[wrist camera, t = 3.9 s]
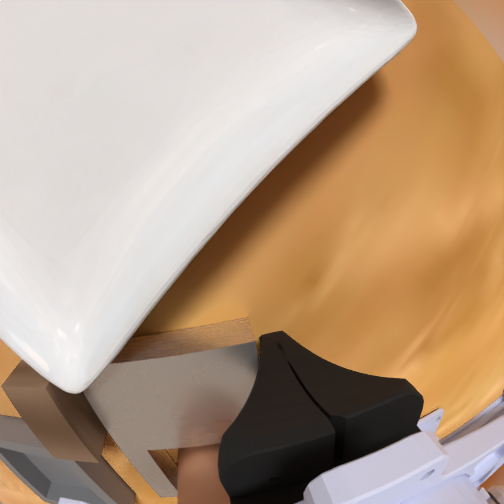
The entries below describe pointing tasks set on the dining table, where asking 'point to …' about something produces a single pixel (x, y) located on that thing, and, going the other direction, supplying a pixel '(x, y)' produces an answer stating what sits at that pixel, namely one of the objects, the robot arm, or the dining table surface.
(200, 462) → the dowel
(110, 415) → the grey flat frame
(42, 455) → the tray
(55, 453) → the block
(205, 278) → the dining table surface
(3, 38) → the salad plate
